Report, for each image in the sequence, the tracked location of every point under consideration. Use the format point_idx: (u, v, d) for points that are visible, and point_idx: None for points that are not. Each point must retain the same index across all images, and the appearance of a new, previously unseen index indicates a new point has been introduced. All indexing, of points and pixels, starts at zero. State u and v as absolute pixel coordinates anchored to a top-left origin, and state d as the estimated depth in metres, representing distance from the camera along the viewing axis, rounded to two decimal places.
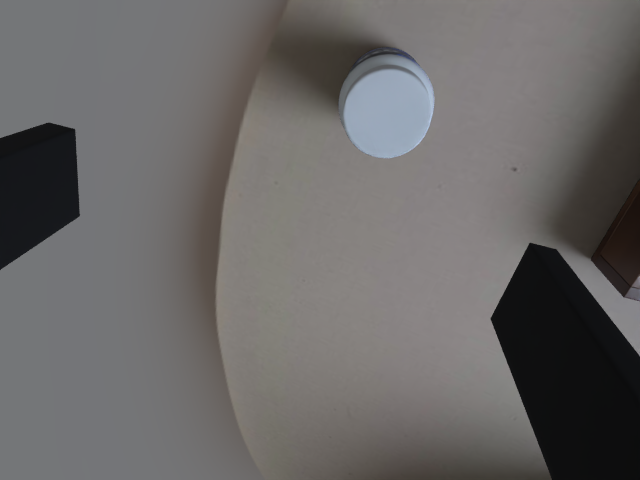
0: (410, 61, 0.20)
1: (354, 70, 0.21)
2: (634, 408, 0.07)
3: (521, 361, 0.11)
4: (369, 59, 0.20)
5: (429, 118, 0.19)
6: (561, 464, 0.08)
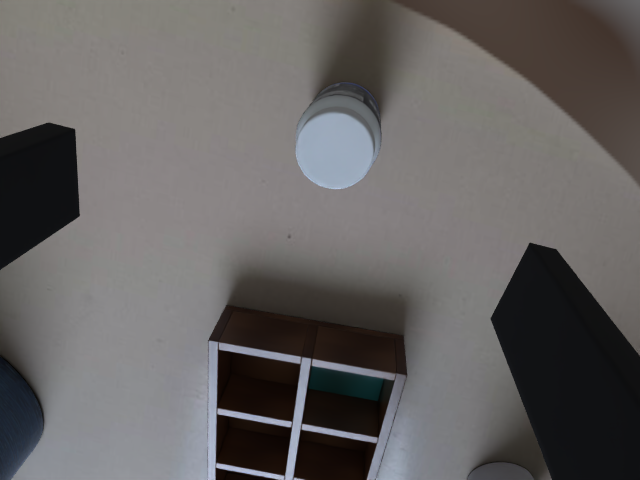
0: (376, 156, 0.24)
1: (366, 108, 0.23)
2: (634, 408, 0.07)
3: (521, 361, 0.11)
4: (376, 121, 0.23)
5: (335, 188, 0.22)
6: (561, 464, 0.08)
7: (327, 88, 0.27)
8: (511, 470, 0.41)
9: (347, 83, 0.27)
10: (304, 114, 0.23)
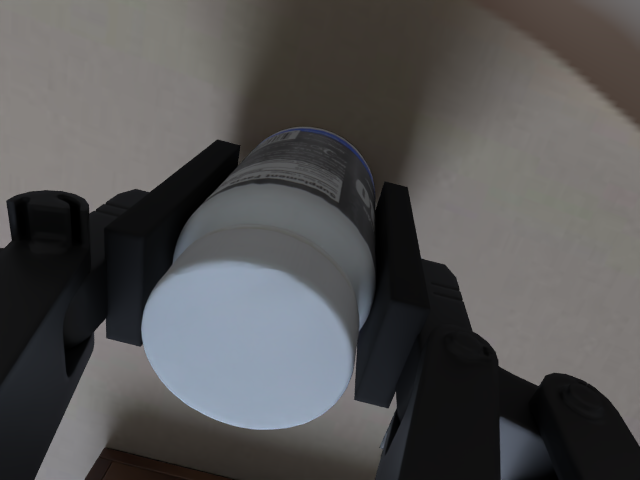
0: (360, 327, 0.10)
1: (345, 226, 0.09)
2: (387, 278, 0.09)
3: None
4: (367, 255, 0.09)
5: (248, 427, 0.09)
6: (361, 342, 0.10)
7: (273, 139, 0.13)
8: None
9: (315, 132, 0.13)
10: (190, 223, 0.09)
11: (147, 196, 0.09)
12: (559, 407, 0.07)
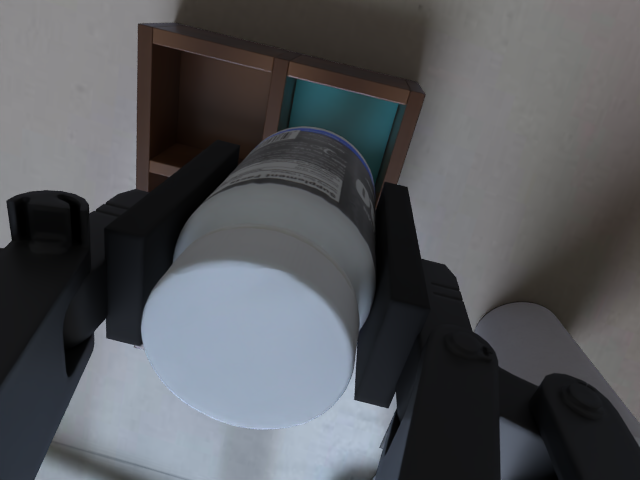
0: (360, 327, 0.10)
1: (345, 226, 0.09)
2: (387, 278, 0.09)
3: None
4: (367, 255, 0.09)
5: (248, 427, 0.09)
6: (361, 342, 0.10)
7: (273, 139, 0.13)
8: (537, 309, 0.32)
9: (315, 131, 0.13)
10: (190, 222, 0.09)
11: (147, 196, 0.09)
12: (559, 407, 0.07)
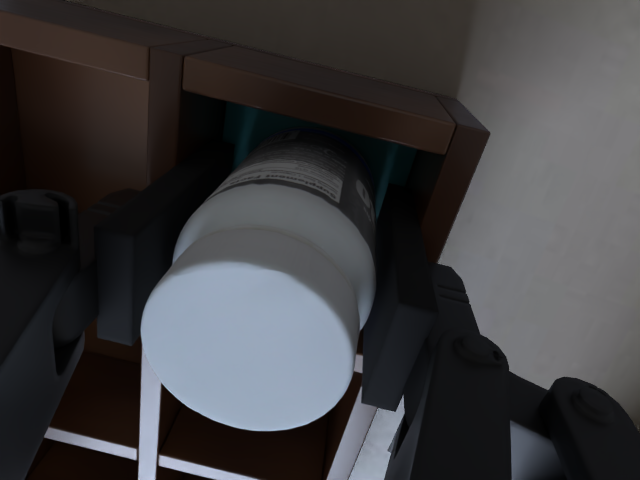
0: (361, 328, 0.10)
1: (345, 227, 0.09)
2: (394, 281, 0.09)
3: None
4: (368, 256, 0.09)
5: (248, 429, 0.09)
6: (367, 345, 0.10)
7: (272, 139, 0.13)
8: None
9: (315, 132, 0.13)
10: (189, 223, 0.09)
11: (139, 195, 0.09)
12: (570, 411, 0.07)
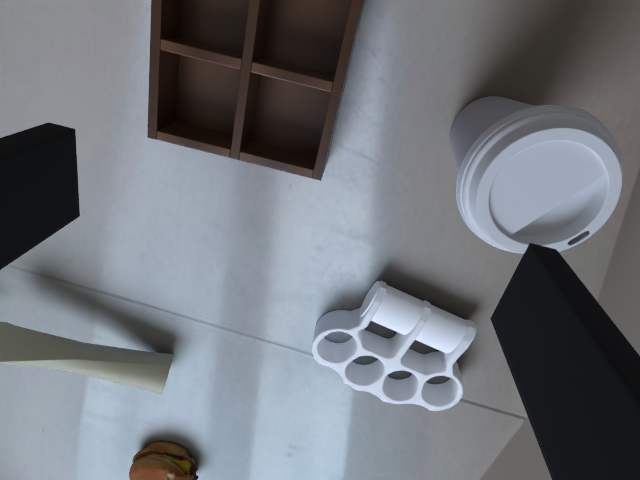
0: None
1: None
2: (634, 408, 0.07)
3: (521, 361, 0.11)
4: None
5: None
6: (561, 463, 0.08)
7: None
8: None
9: None
10: None
11: None
12: None
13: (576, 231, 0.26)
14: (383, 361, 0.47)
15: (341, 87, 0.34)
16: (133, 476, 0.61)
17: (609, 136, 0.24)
